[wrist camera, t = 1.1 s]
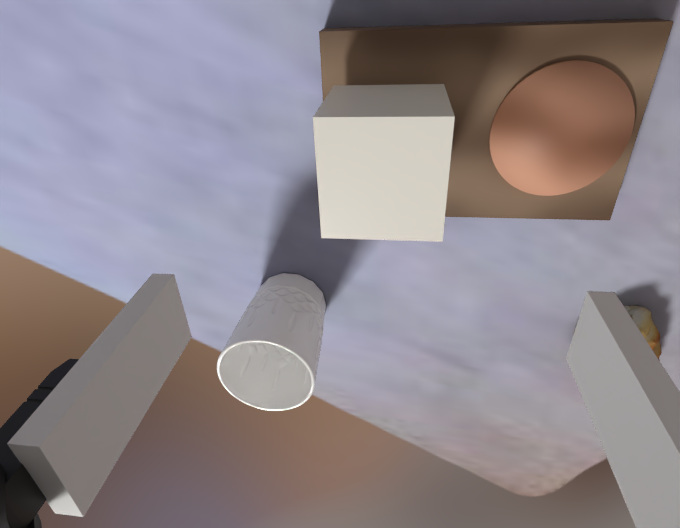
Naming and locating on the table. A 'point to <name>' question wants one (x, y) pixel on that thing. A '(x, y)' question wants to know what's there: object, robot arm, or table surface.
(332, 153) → the matte off-white cube
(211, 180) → the table surface
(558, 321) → the table surface
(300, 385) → the white cup
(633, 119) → the board
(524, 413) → the table surface
